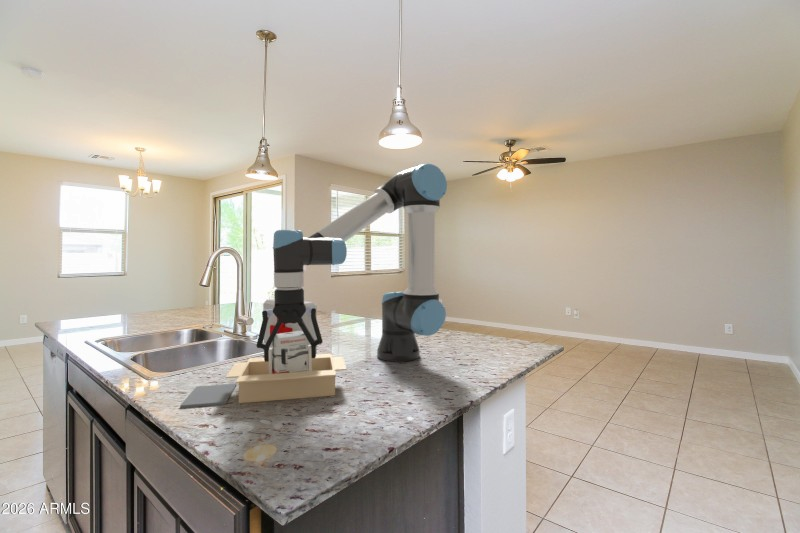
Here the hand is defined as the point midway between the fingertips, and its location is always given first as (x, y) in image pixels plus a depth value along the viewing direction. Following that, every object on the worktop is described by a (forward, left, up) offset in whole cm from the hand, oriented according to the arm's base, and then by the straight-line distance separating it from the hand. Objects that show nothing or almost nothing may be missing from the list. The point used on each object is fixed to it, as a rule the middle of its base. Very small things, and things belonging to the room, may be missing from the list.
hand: (290, 371), depth 101 cm
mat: (+20, 0, -5) cm, 20 cm away
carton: (0, 0, -5) cm, 5 cm away
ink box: (0, 0, -2) cm, 2 cm away
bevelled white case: (+2, -32, -5) cm, 32 cm away
